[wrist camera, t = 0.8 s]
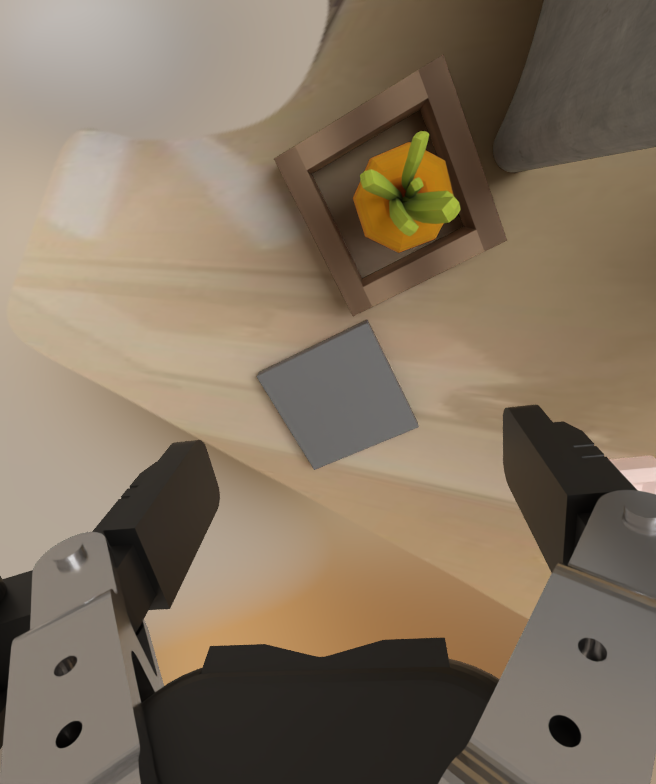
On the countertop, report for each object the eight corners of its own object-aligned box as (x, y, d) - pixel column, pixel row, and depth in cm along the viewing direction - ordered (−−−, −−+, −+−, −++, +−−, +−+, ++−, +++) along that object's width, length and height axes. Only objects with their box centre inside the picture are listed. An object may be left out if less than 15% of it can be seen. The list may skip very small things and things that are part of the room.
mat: (367, 319, 34) (367, 322, 33) (417, 421, 37) (418, 427, 36) (258, 372, 36) (256, 376, 35) (315, 463, 39) (314, 469, 38)
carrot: (338, 198, 30) (325, 196, 17) (393, 143, 29) (428, 89, 15) (384, 252, 32) (407, 291, 18) (439, 202, 30) (509, 202, 16)
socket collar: (432, 71, 27) (443, 54, 24) (491, 236, 31) (507, 240, 28) (282, 163, 30) (273, 158, 26) (353, 305, 33) (352, 316, 30)
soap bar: (545, 462, 38) (557, 478, 36) (654, 452, 37) (673, 468, 35) (542, 511, 41) (553, 528, 38) (646, 502, 40) (663, 520, 37)
